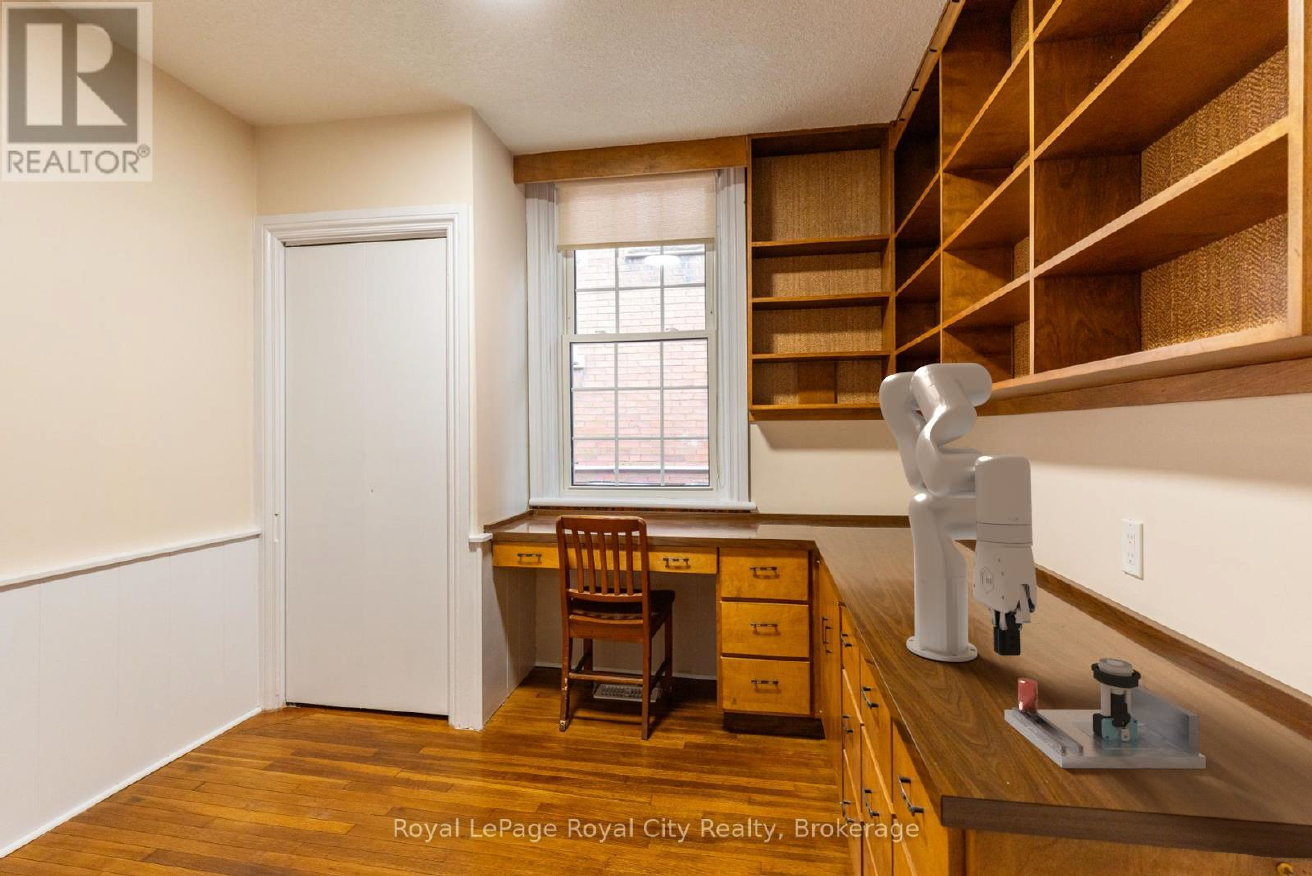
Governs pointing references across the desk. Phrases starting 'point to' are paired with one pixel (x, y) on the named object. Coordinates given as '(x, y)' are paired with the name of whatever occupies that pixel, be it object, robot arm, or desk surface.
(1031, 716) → the lever
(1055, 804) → the desk surface
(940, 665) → the desk surface
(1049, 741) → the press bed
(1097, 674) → the push button
